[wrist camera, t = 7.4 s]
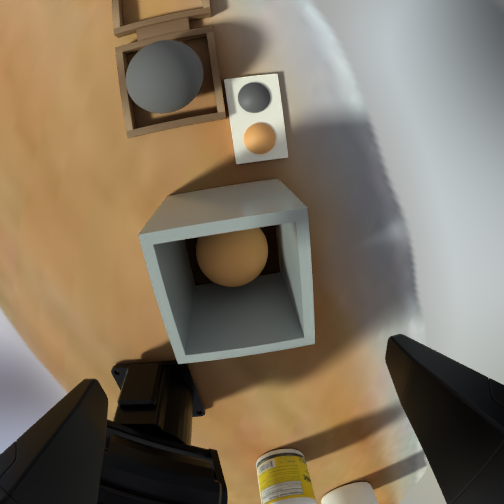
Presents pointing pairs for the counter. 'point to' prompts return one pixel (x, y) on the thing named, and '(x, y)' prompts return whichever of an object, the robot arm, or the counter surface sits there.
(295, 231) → the grey open box
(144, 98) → the gray ball
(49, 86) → the counter surface
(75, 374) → the counter surface
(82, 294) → the counter surface
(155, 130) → the holder
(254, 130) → the card
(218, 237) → the orange ball
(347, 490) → the pill bottle
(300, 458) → the supplement bottle
